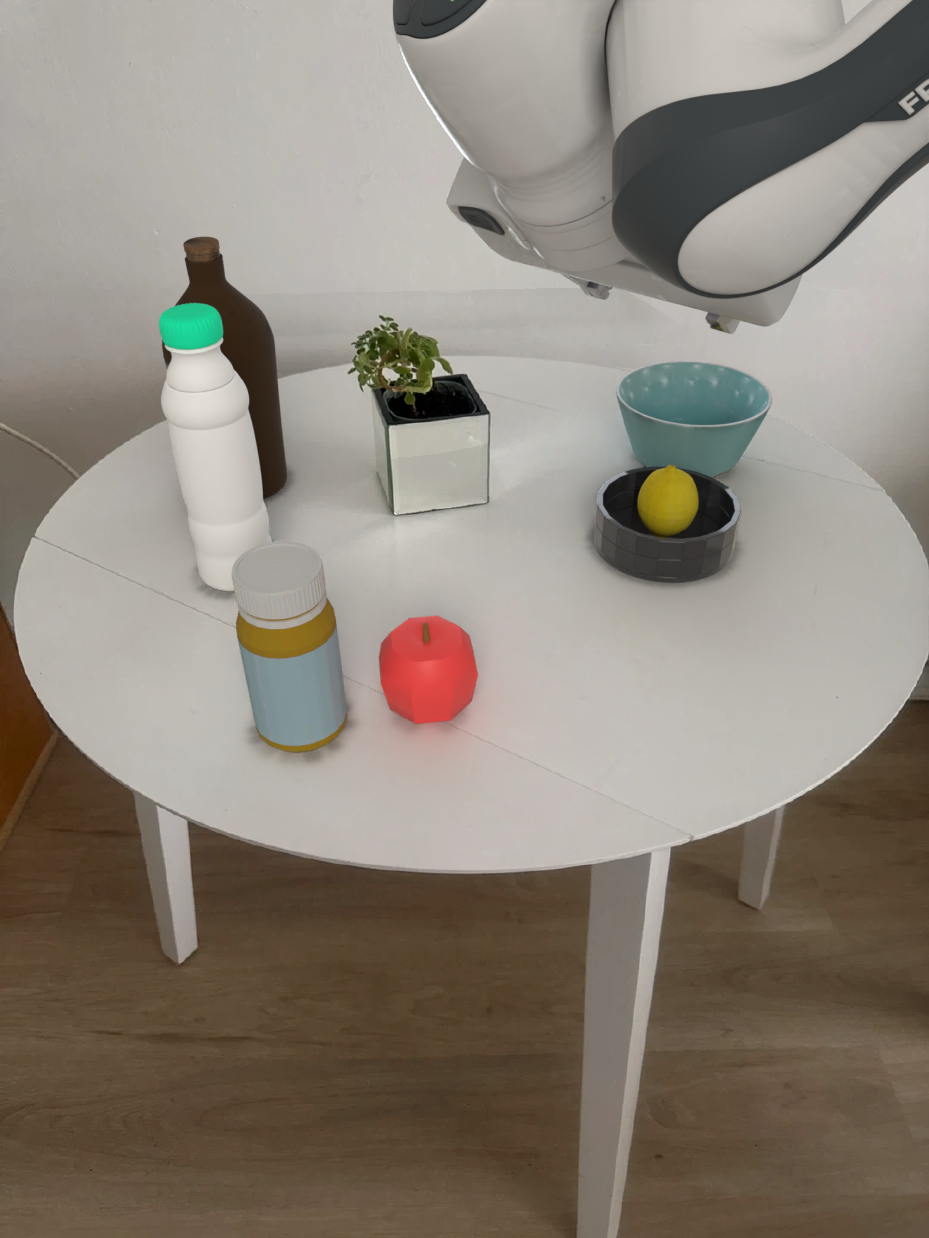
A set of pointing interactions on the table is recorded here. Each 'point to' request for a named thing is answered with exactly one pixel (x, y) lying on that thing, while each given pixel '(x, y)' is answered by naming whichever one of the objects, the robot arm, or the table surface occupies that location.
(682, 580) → the pan
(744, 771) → the table surface
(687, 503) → the fruit
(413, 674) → the apple
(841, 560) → the table surface
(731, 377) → the bowl
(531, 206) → the robot arm
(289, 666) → the bottle
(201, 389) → the water bottle
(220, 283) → the olive oil
